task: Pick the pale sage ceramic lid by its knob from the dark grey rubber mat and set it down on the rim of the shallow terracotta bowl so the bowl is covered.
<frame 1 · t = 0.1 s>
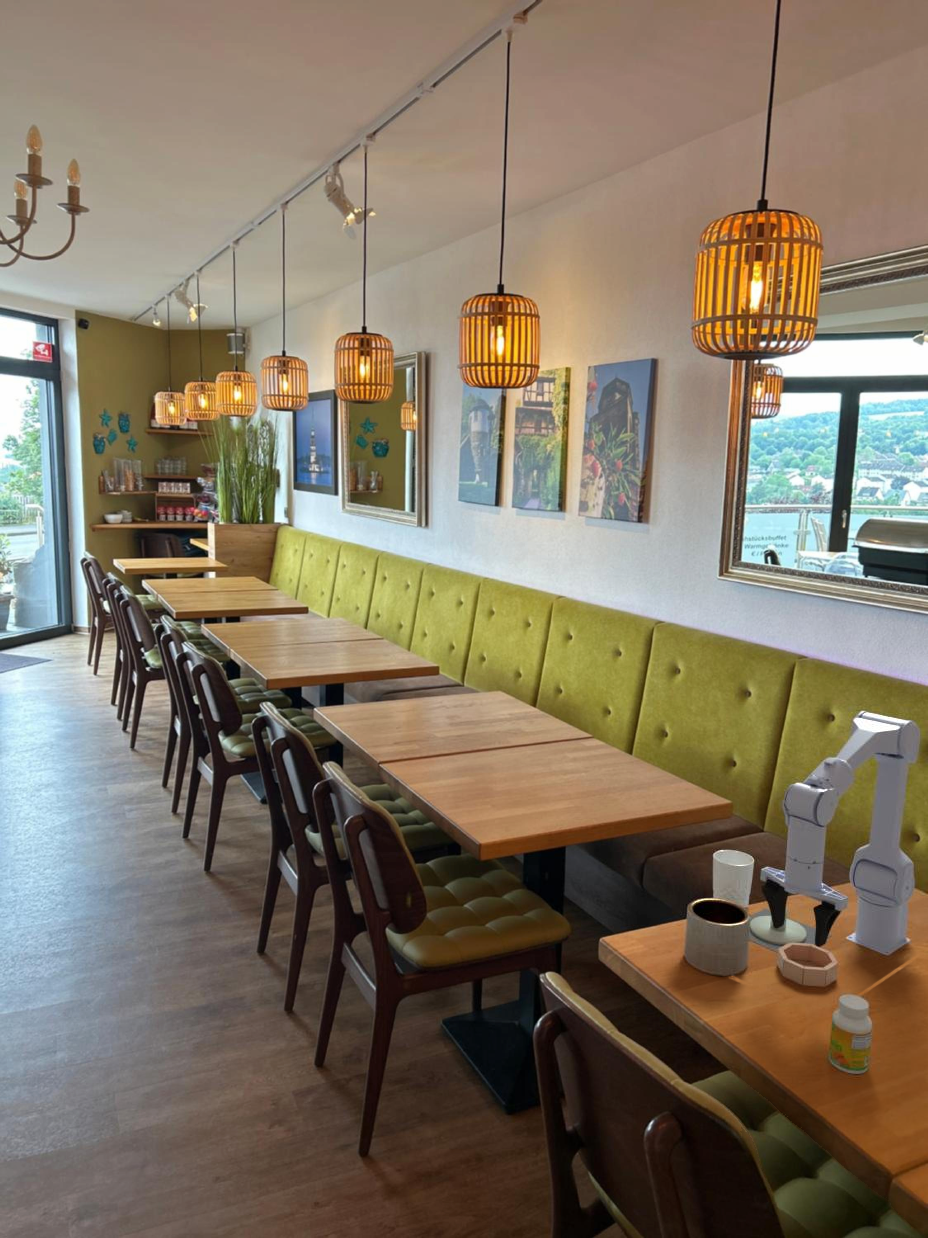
hand: (799, 935, 149), 10 cm above the table, fingers open, 7 cm apart
bowl: (806, 975, 156), on the table
planter: (715, 963, 160), on the table
supplement bottle: (848, 1065, 132), on the table
white cup: (730, 905, 183), on the table
mat: (777, 935, 170), on the table
lid: (777, 932, 170), point 1 cm above the table, touching mat
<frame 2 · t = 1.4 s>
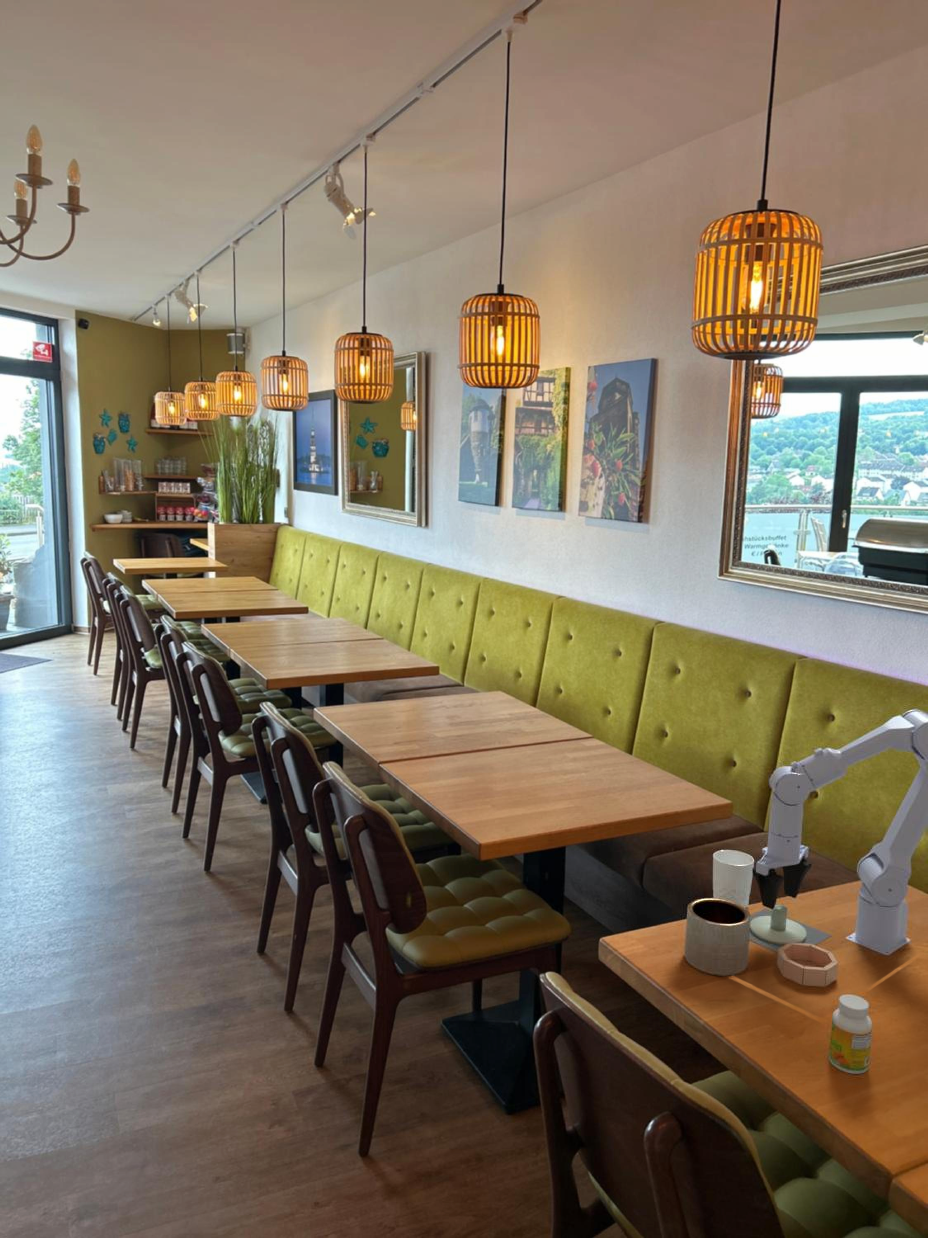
hand: (779, 901, 170), 7 cm above the table, fingers open, 7 cm apart
nothing on the table moved.
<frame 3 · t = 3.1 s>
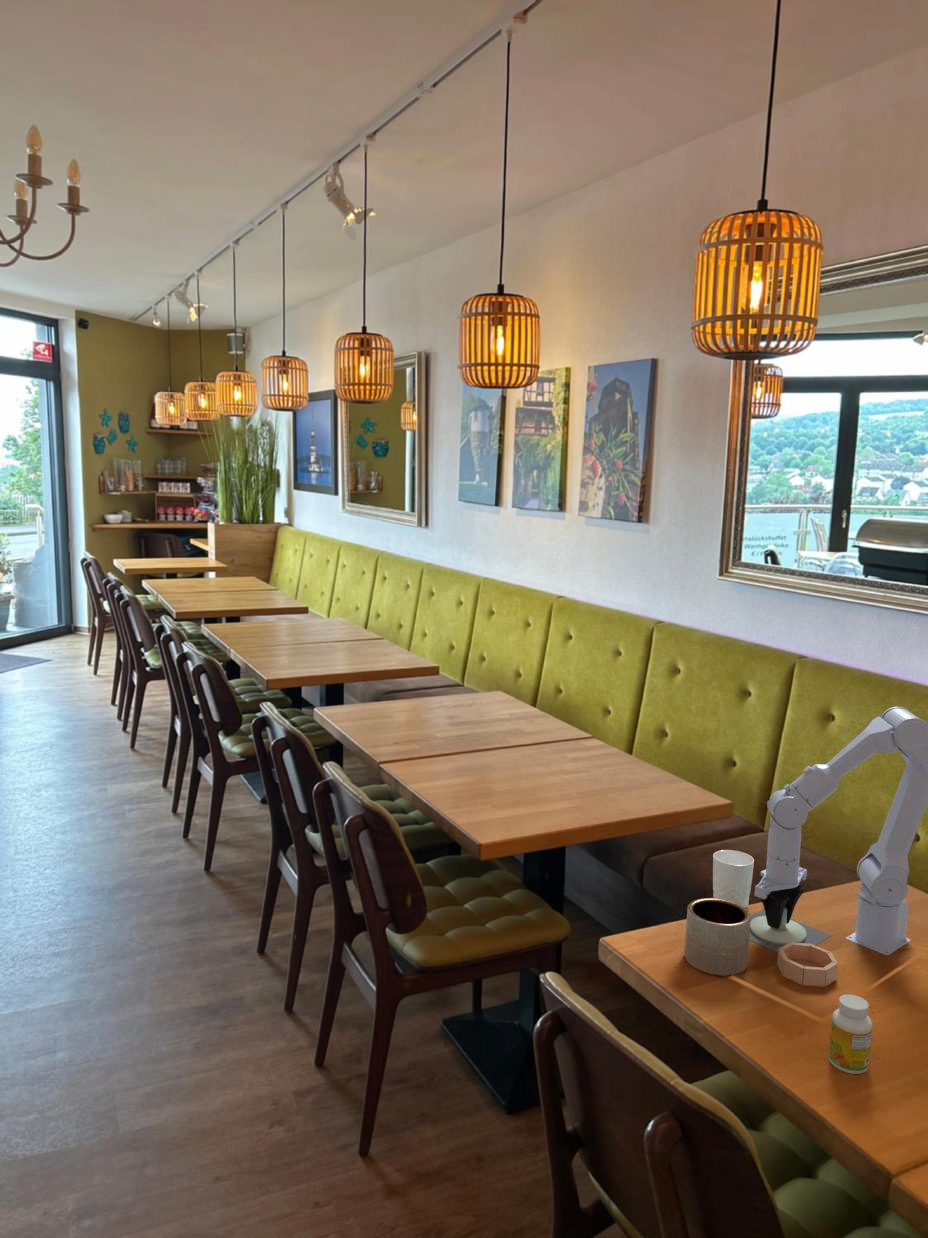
hand: (778, 924, 170), 2 cm above the table, fingers closed on lid, 3 cm apart
lid: (777, 932, 170), point 1 cm above the table, touching gripper, mat
everything else where it was.
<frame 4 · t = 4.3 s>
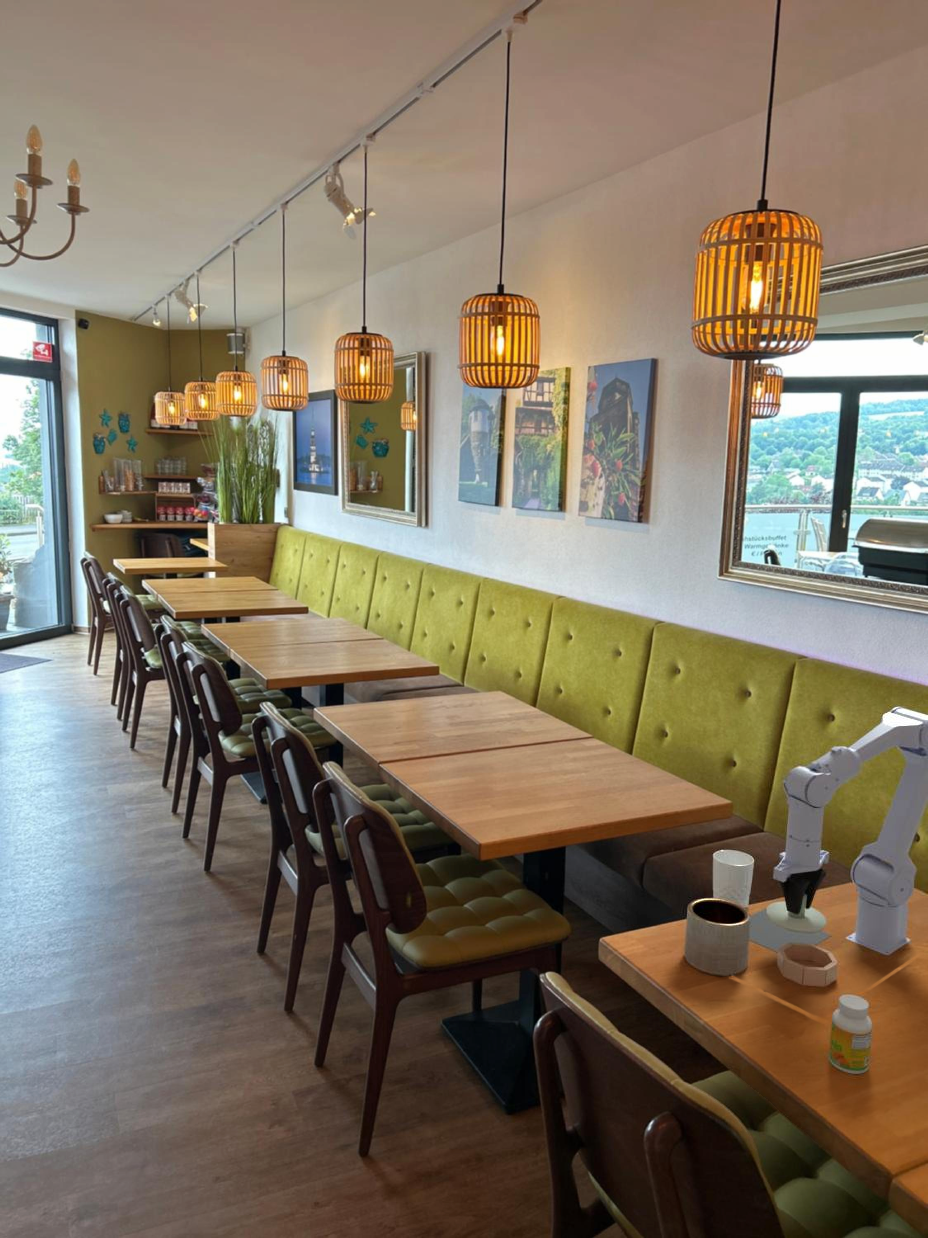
hand: (798, 909, 160), 9 cm above the table, fingers closed on lid, 3 cm apart
lid: (795, 919, 161), point 8 cm above the table, touching gripper
everything else where it was.
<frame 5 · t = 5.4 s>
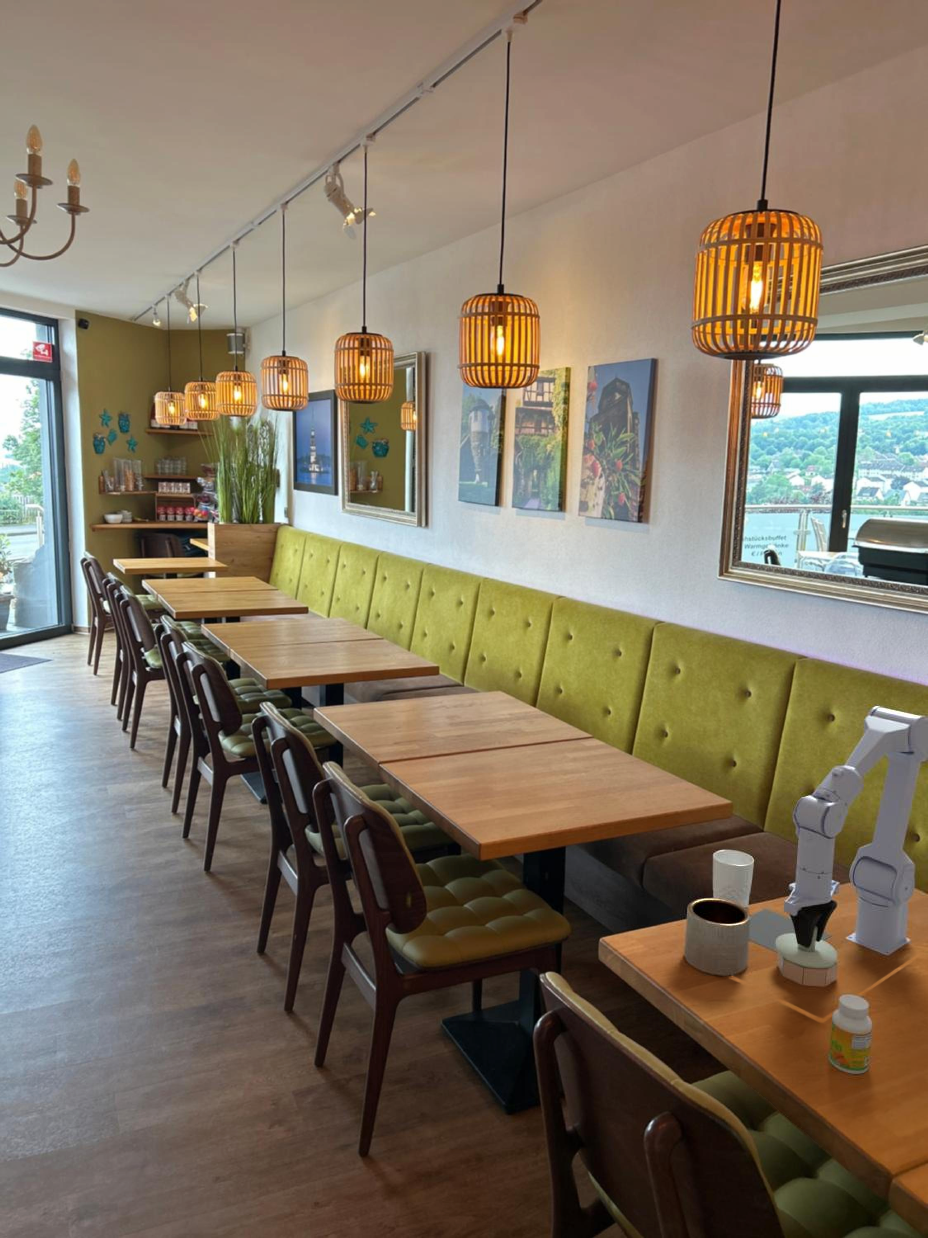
hand: (808, 942, 156), 6 cm above the table, fingers closed on lid, 3 cm apart
lid: (805, 952, 156), point 4 cm above the table, touching gripper
everything else where it was.
when the fingers open (6 cm above the table, at t = 5.9 s): lid stays where it is, resting on bowl.
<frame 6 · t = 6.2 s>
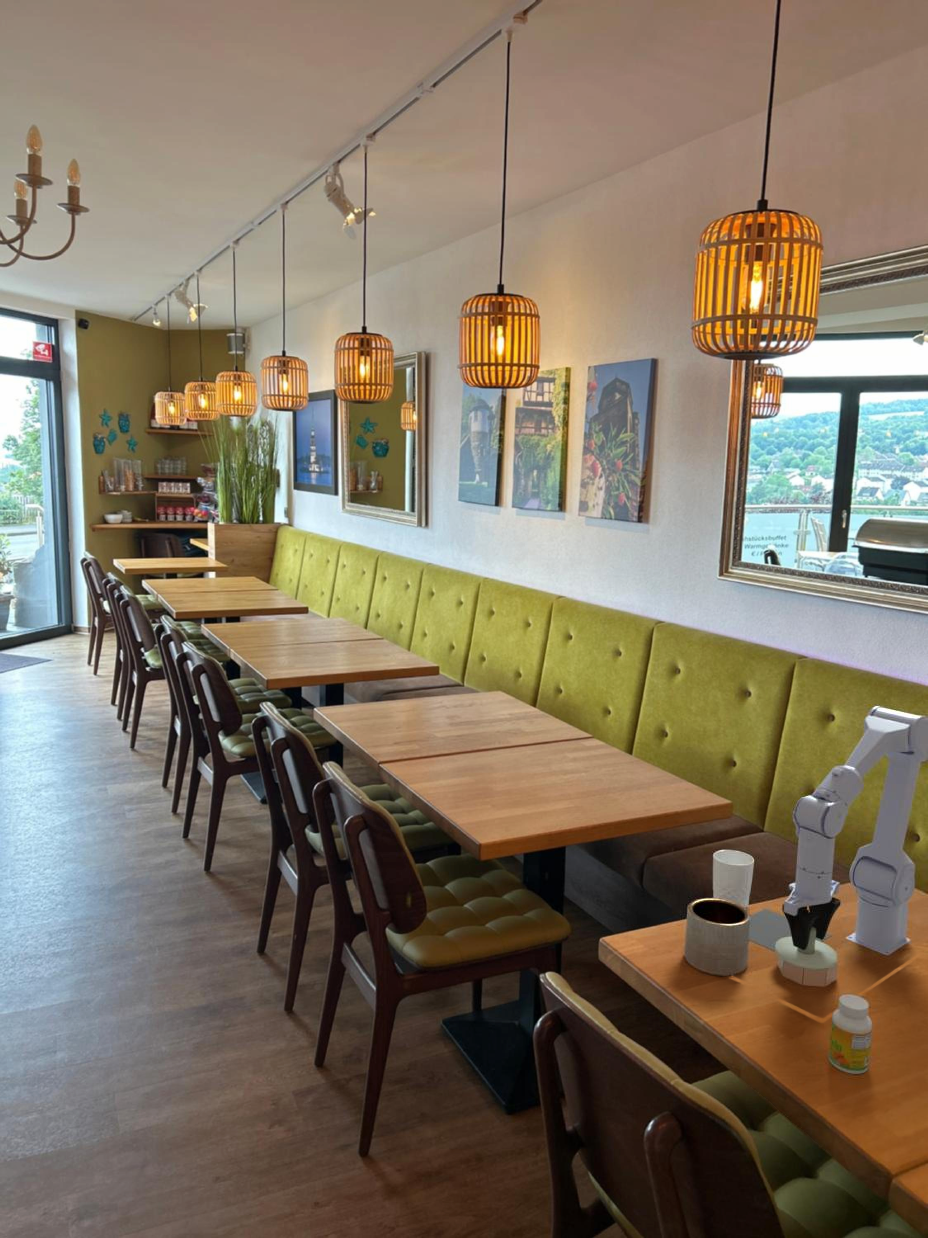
hand: (808, 942, 156), 6 cm above the table, fingers open, 5 cm apart
lid: (805, 955, 156), point 3 cm above the table, touching bowl
everything else where it was.
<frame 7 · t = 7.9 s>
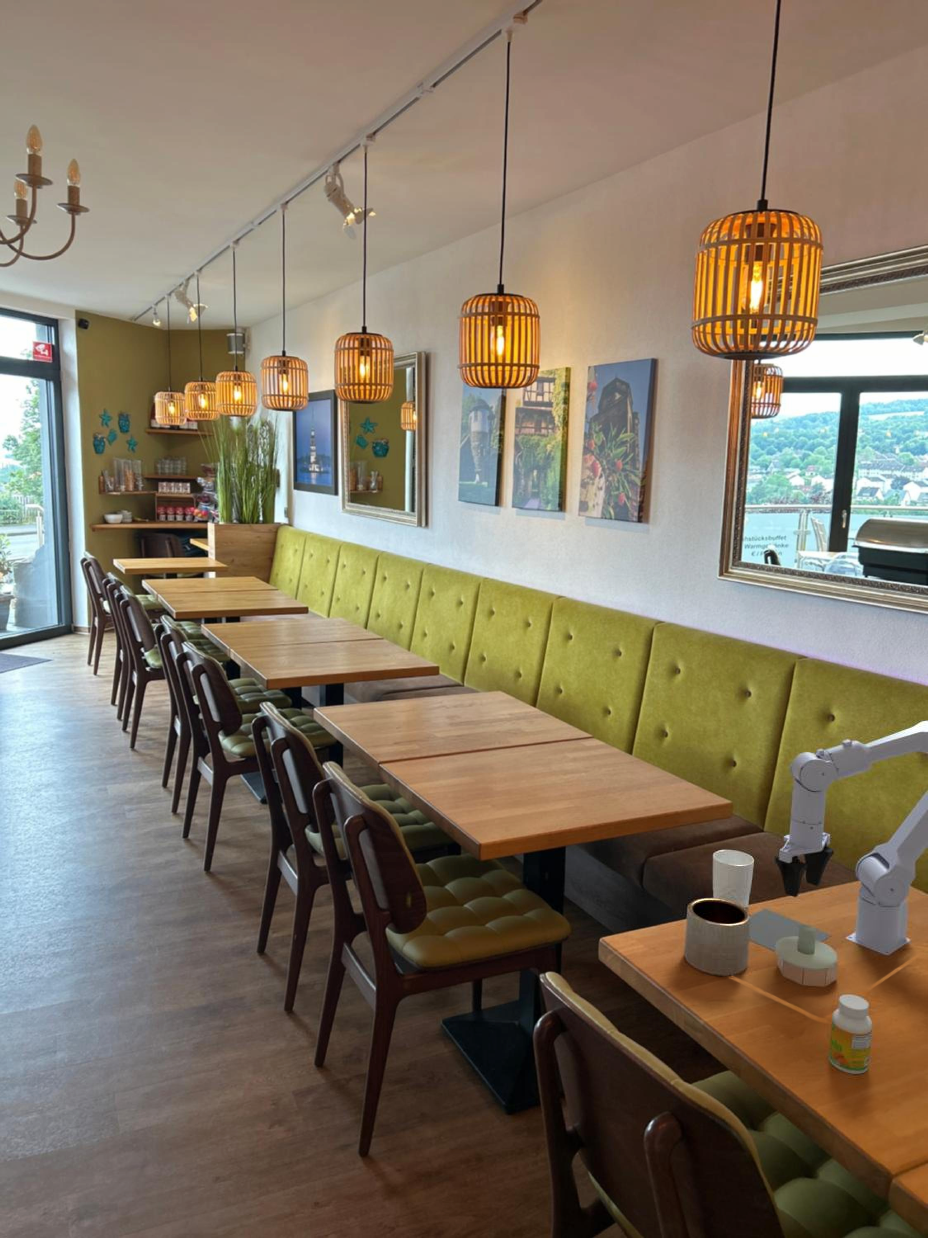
hand: (802, 889, 168), 10 cm above the table, fingers open, 7 cm apart
nothing on the table moved.
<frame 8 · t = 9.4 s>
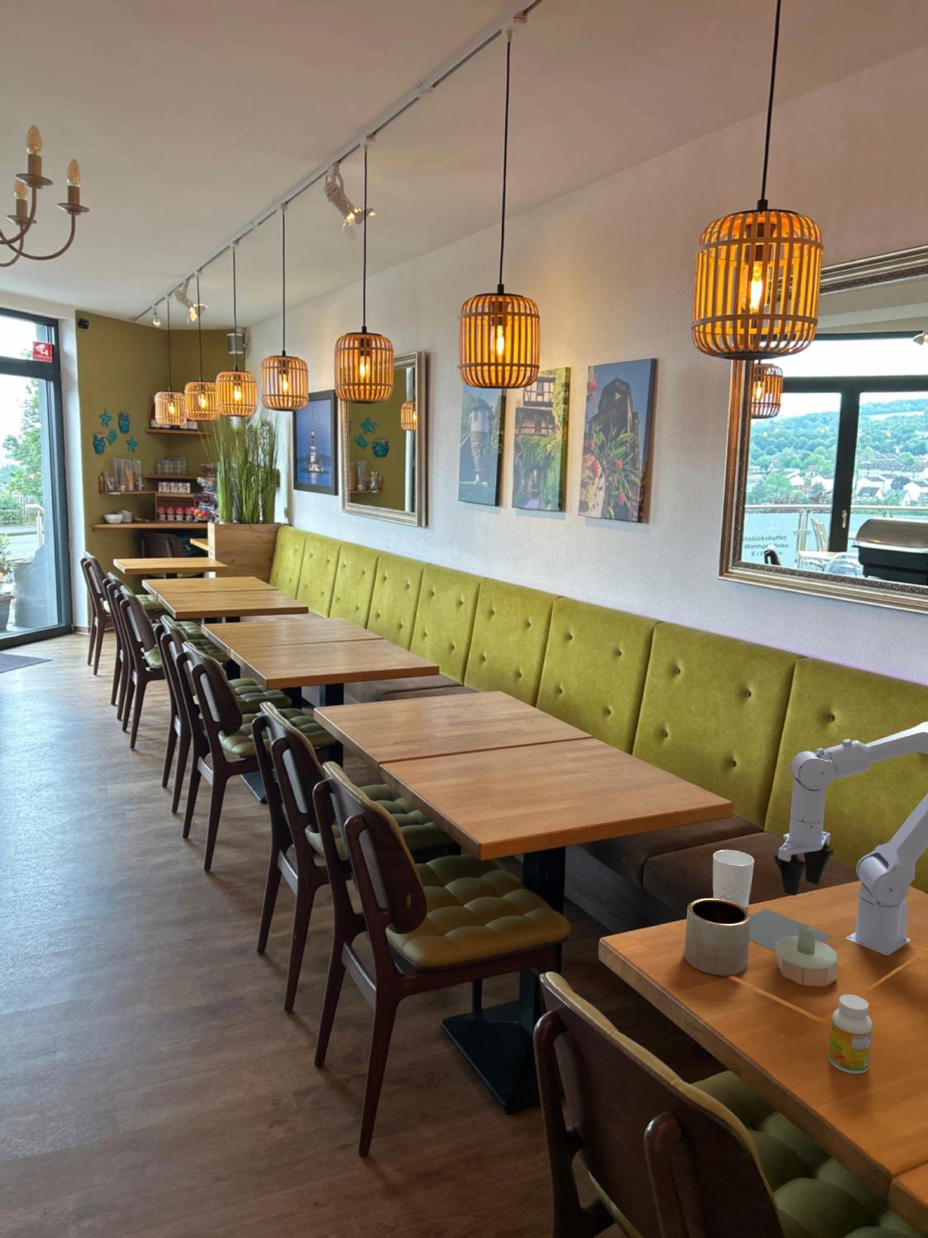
hand: (801, 888, 168), 10 cm above the table, fingers open, 7 cm apart
nothing on the table moved.
at the end: lid 0.4 cm from the bowl (horizontally); lid 0.4 cm off-centre on the bowl, point 3.5 cm above the bowl's base; the gripper is holding nothing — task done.
